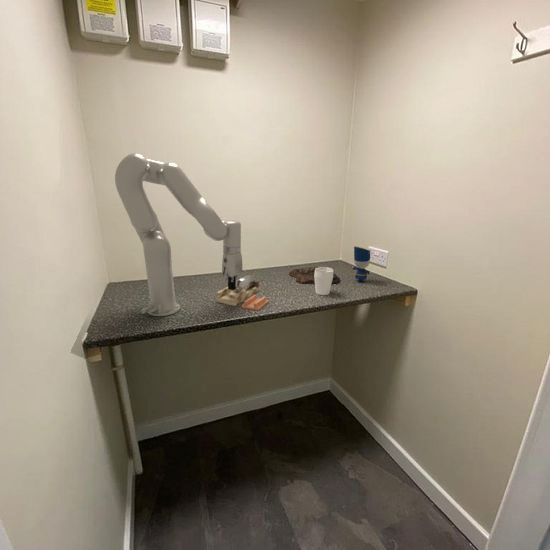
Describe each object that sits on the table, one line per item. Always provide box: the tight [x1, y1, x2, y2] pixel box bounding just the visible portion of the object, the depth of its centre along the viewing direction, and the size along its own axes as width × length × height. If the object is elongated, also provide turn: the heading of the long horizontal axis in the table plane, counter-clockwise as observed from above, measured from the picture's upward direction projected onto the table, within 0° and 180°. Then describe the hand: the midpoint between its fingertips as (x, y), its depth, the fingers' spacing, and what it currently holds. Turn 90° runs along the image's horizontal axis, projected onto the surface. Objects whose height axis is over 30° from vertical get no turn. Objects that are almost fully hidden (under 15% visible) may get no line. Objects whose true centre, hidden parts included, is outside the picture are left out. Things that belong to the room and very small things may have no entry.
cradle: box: [241, 294, 270, 312], centre depth 124 cm, size 10×8×3 cm
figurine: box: [352, 246, 372, 282], centre depth 153 cm, size 13×9×20 cm
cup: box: [314, 266, 334, 296], centre depth 138 cm, size 9×9×12 cm
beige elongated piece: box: [215, 280, 260, 307], centre depth 133 cm, size 21×10×5 cm, turn 154°
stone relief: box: [288, 266, 341, 286], centre depth 162 cm, size 26×4×30 cm
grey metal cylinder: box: [234, 274, 256, 293], centre depth 136 cm, size 10×6×6 cm, turn 151°
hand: (231, 289), depth 129 cm, fingers closed
